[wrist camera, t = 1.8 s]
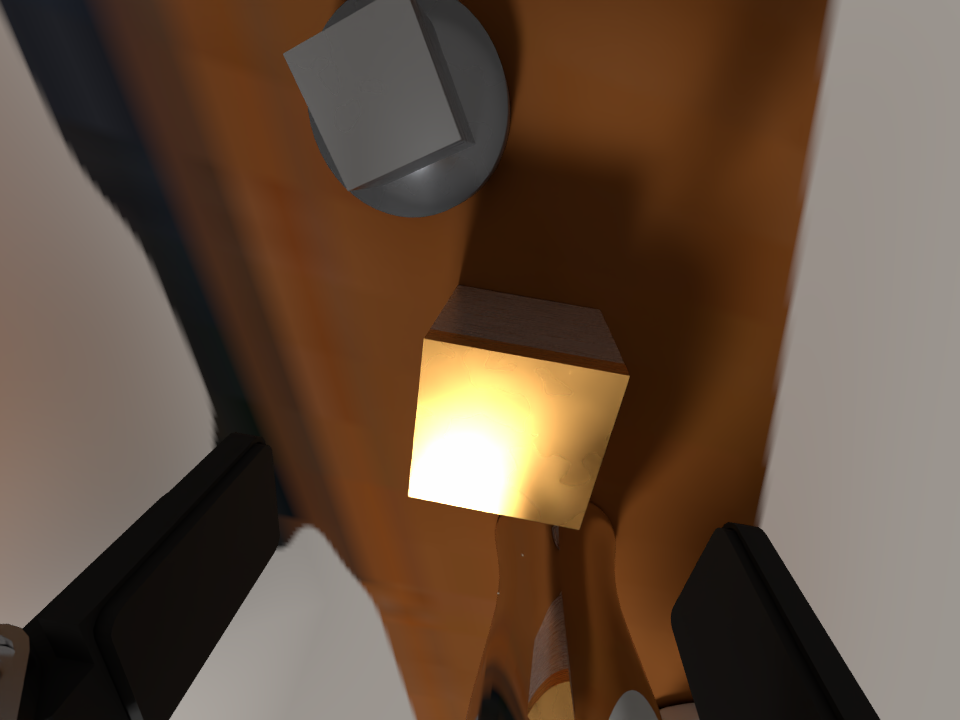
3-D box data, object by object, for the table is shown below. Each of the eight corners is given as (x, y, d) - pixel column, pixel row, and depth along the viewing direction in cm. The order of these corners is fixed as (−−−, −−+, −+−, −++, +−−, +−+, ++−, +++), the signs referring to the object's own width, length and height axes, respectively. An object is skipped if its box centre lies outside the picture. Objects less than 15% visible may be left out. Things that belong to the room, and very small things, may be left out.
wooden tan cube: (600, 309, 17) (630, 376, 12) (567, 429, 20) (578, 529, 14) (458, 284, 18) (423, 338, 12) (442, 406, 20) (408, 496, 15)
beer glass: (639, 496, 21) (834, 1114, 7) (604, 593, 24) (697, 1163, 10) (496, 471, 21) (429, 1014, 8) (479, 570, 24) (408, 1090, 11)
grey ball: (536, 171, 16) (536, 175, 11) (382, 236, 17) (328, 261, 13) (469, -37, 14) (437, -137, 9) (301, 59, 15) (201, 14, 11)
